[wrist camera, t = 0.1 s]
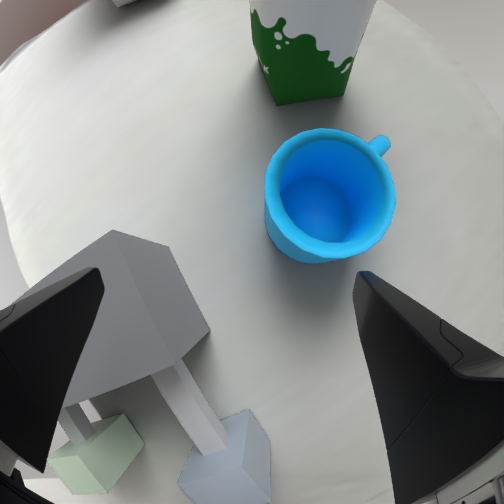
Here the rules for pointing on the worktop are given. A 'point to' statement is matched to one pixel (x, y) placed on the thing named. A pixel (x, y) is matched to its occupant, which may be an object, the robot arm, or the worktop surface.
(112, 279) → the grey curved block
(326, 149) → the mug
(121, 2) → the grey rounded oblong block
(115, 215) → the worktop surface
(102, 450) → the green key
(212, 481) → the grey key
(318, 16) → the milk carton
